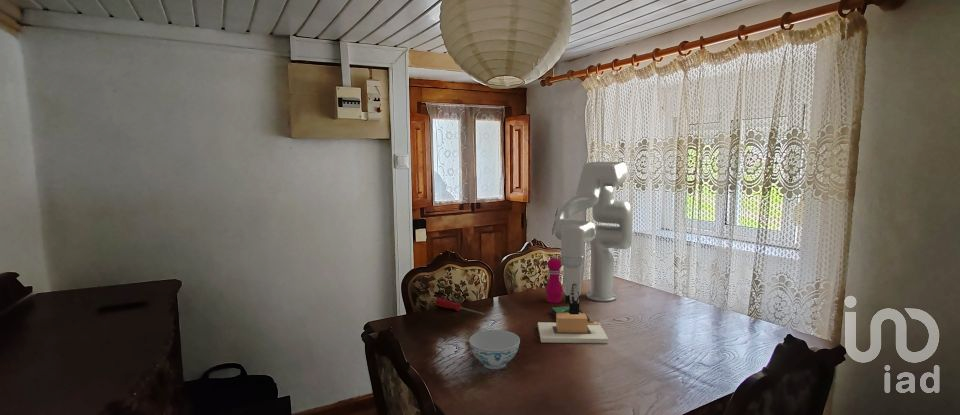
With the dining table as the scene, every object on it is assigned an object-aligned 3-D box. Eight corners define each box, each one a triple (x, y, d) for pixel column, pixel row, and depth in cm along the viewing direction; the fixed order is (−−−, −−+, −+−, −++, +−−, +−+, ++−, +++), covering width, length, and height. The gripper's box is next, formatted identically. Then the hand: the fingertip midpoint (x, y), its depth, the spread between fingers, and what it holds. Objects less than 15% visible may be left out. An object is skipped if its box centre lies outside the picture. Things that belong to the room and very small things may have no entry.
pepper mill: (564, 303, 187) (564, 256, 185) (546, 303, 187) (547, 256, 185) (561, 298, 194) (561, 252, 192) (544, 298, 194) (544, 253, 192)
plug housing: (556, 326, 157) (556, 313, 157) (597, 327, 157) (597, 313, 156) (557, 332, 152) (557, 318, 152) (600, 332, 152) (600, 318, 151)
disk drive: (590, 325, 164) (575, 311, 179) (590, 318, 164) (575, 304, 178) (563, 327, 162) (550, 313, 177) (563, 320, 162) (550, 306, 176)
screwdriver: (481, 320, 170) (481, 311, 169) (434, 306, 185) (434, 298, 185) (487, 317, 172) (487, 308, 172) (440, 304, 188) (440, 296, 187)
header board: (537, 326, 162) (537, 315, 162) (599, 326, 161) (599, 315, 161) (541, 342, 148) (541, 330, 148) (608, 343, 147) (608, 331, 147)
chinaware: (462, 358, 137) (461, 334, 136) (505, 349, 143) (505, 326, 142) (481, 380, 124) (481, 354, 123) (529, 369, 130) (529, 344, 129)
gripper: (558, 254, 161) (558, 300, 163) (564, 267, 144) (564, 318, 146) (579, 254, 160) (578, 300, 163) (588, 267, 143) (587, 318, 145)
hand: (572, 308), depth 154 cm, fingers open, 9 cm apart
